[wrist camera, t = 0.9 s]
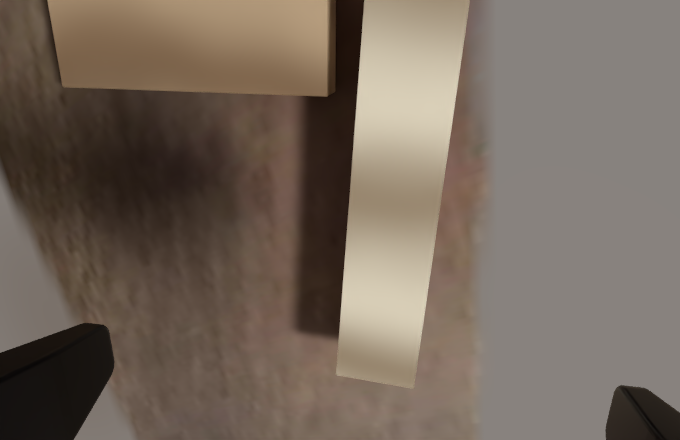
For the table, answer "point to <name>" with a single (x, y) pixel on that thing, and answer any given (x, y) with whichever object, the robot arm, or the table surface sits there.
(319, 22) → the balance board
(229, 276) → the table surface
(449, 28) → the rod
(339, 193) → the table surface
